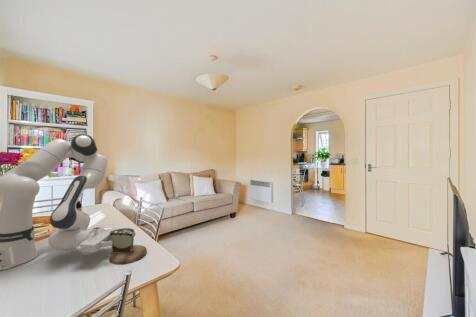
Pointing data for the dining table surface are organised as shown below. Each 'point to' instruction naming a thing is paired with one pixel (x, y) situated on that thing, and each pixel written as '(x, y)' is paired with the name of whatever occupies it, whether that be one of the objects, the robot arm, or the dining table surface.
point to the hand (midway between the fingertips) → (118, 238)
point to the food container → (122, 240)
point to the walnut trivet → (128, 255)
